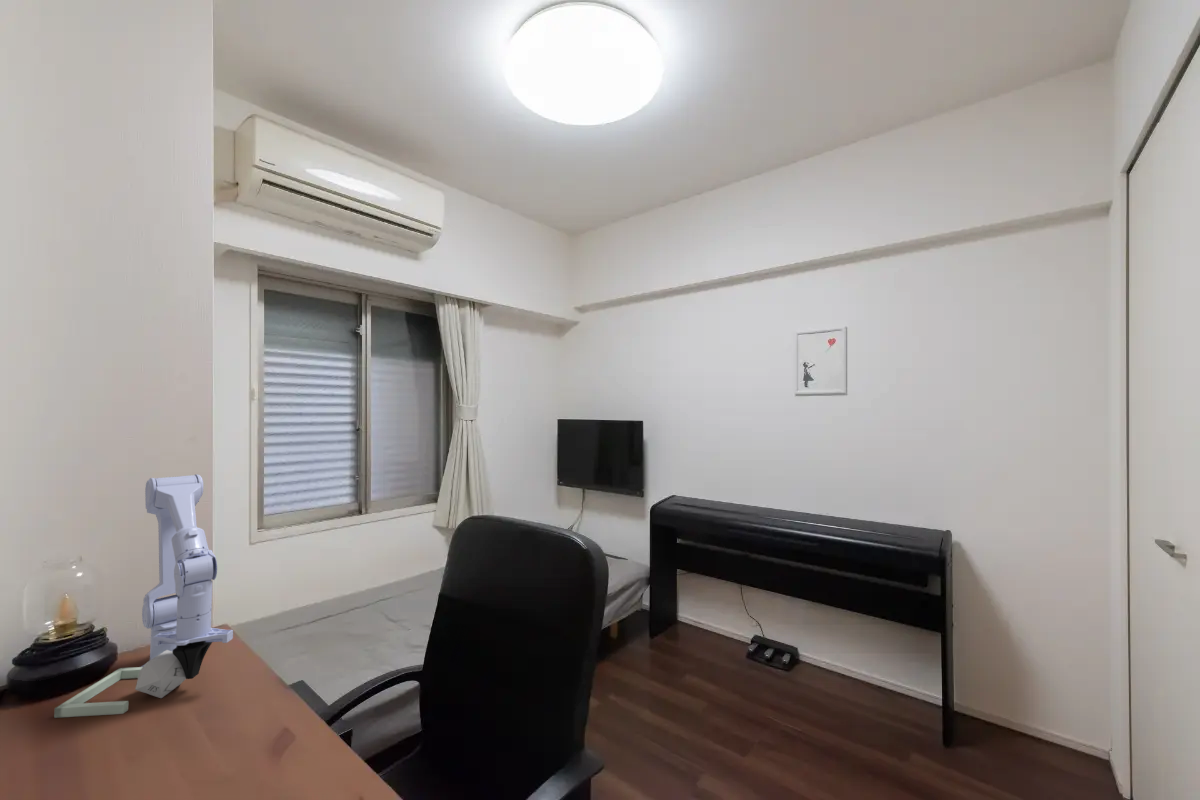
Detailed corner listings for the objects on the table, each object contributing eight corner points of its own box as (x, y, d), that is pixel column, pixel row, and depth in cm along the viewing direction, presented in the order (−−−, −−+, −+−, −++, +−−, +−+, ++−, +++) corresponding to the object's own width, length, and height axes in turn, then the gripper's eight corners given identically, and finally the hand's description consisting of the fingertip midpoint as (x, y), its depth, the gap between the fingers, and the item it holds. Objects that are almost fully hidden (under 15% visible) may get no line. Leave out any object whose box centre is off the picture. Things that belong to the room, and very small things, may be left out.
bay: (119, 676, 106) (120, 668, 106) (178, 673, 107) (178, 665, 107) (54, 717, 92) (54, 708, 92) (122, 713, 93) (123, 704, 93)
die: (128, 712, 94) (161, 672, 95) (121, 678, 99) (153, 640, 100) (174, 705, 101) (205, 668, 102) (166, 673, 106) (195, 638, 107)
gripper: (141, 622, 97) (139, 689, 96) (218, 619, 99) (216, 685, 98) (168, 608, 104) (166, 670, 103) (239, 605, 106) (237, 666, 105)
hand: (192, 676), depth 101 cm, fingers closed
